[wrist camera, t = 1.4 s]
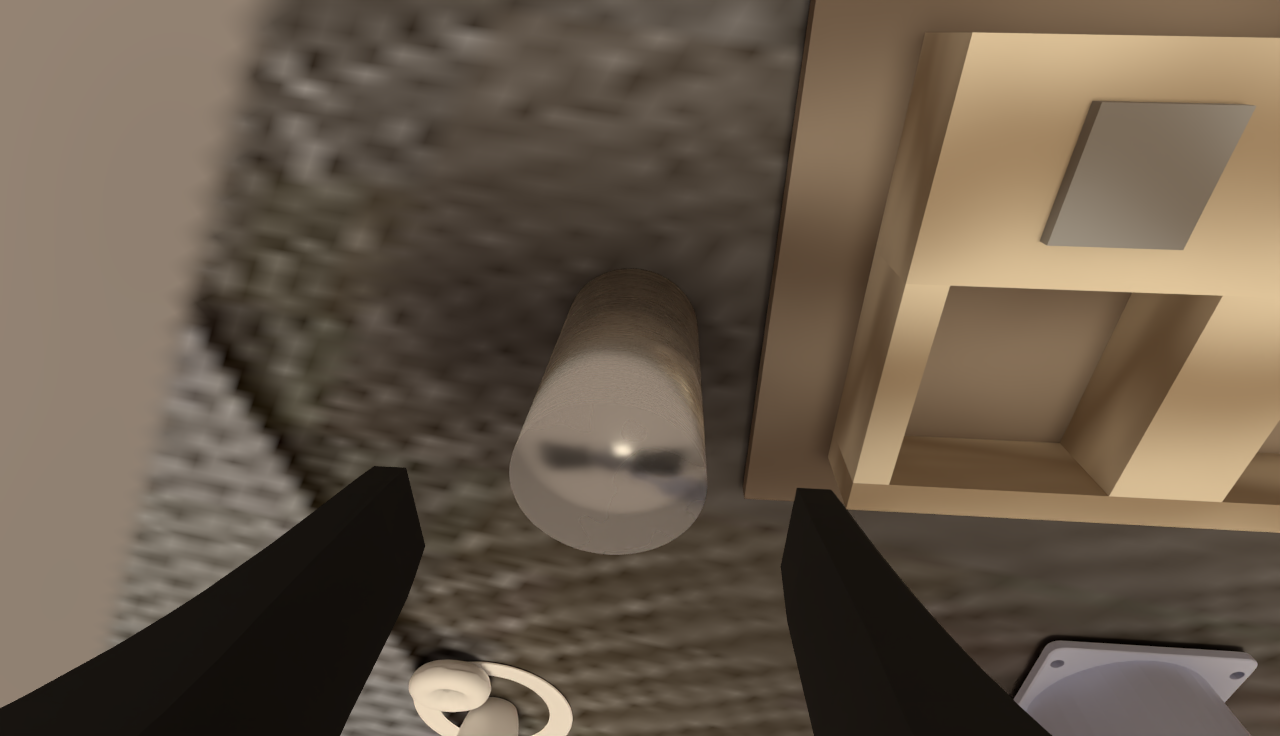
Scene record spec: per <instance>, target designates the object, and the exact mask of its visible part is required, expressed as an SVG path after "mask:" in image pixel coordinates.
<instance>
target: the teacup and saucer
mask: <svg viewBox="0 0 1280 736" xmlns="http://www.w3.org/2000/svg"><path fill="white" fill-rule="evenodd" d="M488 675H489V676H497V677H502V678H506V679H510V680H513V681H516V682H518V683H521V684H523V685H525V686H527V687H528V688H530V689H532V690H533V691H535V692H536V693H537V694H538V695H540V696H541V697H542V699H543V700H544V701H545V702H546V704H547V706H548V708H549V711H550V718H549V722H548V724H547V725H546V727H545V728H544V729H543V730H541V731H540V732H538V733H537V734H535V735H532V736H566V735H567V734H568V732H569V730H570V728H571V726H572V721H573V715H572V710H571V707H570V705H569V703H568V702H567V700H566V699H565V697H564V696H563V695H562V694H561V693H560V692H559V691H558V690H557V689H556V688H555V687H554V686H552V685H551V684H550V683H548V682H547V681H545V680H543V679H542V678H540V677H538V676H536V675H534V674H532V673H529V672H527V671H524V670H522V669H519V668H515V667H512V666H508V665H503V664H498V663H491V662H465V661H460V660H451V659H444V660H436V661H431V662H428V663H426V664H424V665H422V666H421V667H419V668H418V669H417V670H416V671H415V673H414V674H413V676H412V677H411V679H410V682H409V692H410V694H411V696H412V697H413V699H414V705H415V708H416V710H417V712H418V714H419V715H420V717H421V718H422V719H423V721H424V722H425V723H426V724H427V725H428V726H429V727H431V728H432V729H433V730H434V731H436V732H437V733H439V734H440V735H442V736H518V729H519V721H518V713H517V709H516V707H515V706H514V705H513V704H512V703H510V702H509V701H507V700H505V699H502V698H497V697H489V695H490V692H491V684H490V679H489V677H488ZM468 710H470V711H469V712H468V714H467V716H466V717H465V719H464V721H463V723H462V725H461V727H460V728H459V727H457V726H455V725H454V724H452V723H451V722H450V721H449V720H448V719H446V718H445V716H444V715H443V714H442V713H441V711H445V712H460V711H468Z"/></svg>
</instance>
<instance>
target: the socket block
mask: <svg viewBox="0 0 1280 736" xmlns="http://www.w3.org/2000/svg"><path fill="white" fill-rule="evenodd" d="M797 488H812V489H831V490H832V491H833V492H834V493H835V494H836V496H837V497H838V498H839V500H840V501H841V502H842V504H844V505H845V507H846V509H852V510H870V511H889V512H907V513H926V514H944V515H963V516H981V517H1000V518H1018V519H1037V520H1055V521H1074V522H1092V523H1111V524H1129V525H1148V526H1166V527H1185V528H1203V529H1222V530H1240V531H1259V532H1277V533H1280V0H811V1H810V9H809V16H808V23H807V30H806V37H805V44H804V52H803V59H802V66H801V73H800V80H799V88H798V95H797V102H796V109H795V116H794V123H793V131H792V138H791V145H790V152H789V159H788V166H787V174H786V181H785V188H784V195H783V202H782V209H781V217H780V224H779V231H778V238H777V245H776V252H775V260H774V267H773V274H772V281H771V288H770V295H769V303H768V310H767V317H766V324H765V331H764V338H763V346H762V353H761V360H760V367H759V374H758V382H757V389H756V396H755V403H754V410H753V417H752V425H751V432H750V439H749V446H748V453H747V460H746V468H745V475H744V482H743V492H744V499H762V500H781V501H794V499H795V494H796V489H797Z"/></svg>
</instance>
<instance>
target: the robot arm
mask: <svg viewBox="0 0 1280 736" xmlns="http://www.w3.org/2000/svg"><path fill="white" fill-rule="evenodd" d="M424 548H425V543H424V539H423V535H422V531H421V527H420V523H419V519H418V515H417V511H416V507H415V502H414V498H413V494H412V490H411V486H410V482H409V478H408V474H407V470H406V468H399V467H379V466H374V467H372V468H371V469H370V470H368V471H367V472H365V473H364V474H363V475H361V476H360V477H358V478H357V479H356V480H354V481H353V482H352V483H351V484H349V485H348V486H347V487H345V488H344V489H343V490H341V491H340V492H339V493H337V494H336V495H335V496H334V497H332V498H331V499H330V500H328V501H327V502H326V503H324V504H323V505H322V506H321V507H319V508H318V509H317V510H315V511H314V512H313V513H311V514H310V515H309V516H307V517H306V518H305V519H303V520H302V521H301V522H300V523H298V524H297V525H296V526H294V527H293V528H292V529H290V530H289V531H288V532H286V533H285V534H284V535H282V536H281V537H280V538H278V539H277V540H276V541H274V542H273V543H272V544H270V545H269V546H268V547H266V548H265V549H263V550H262V551H260V552H259V553H258V554H256V555H255V556H253V557H252V558H250V559H249V560H248V561H246V562H245V563H243V564H242V565H240V566H239V567H238V568H236V569H235V570H233V571H232V572H230V573H229V574H228V575H226V576H225V577H223V578H222V579H220V580H219V581H218V582H216V583H215V584H213V585H212V586H210V587H209V588H208V589H206V590H205V591H203V592H202V593H200V594H199V595H197V596H196V597H194V598H193V599H191V600H190V601H188V602H186V603H185V604H183V605H182V606H180V607H179V608H177V609H175V610H174V611H172V612H171V613H169V614H168V615H166V616H164V617H163V618H161V619H159V620H158V621H156V622H154V623H153V624H151V625H150V626H148V627H146V628H145V629H143V630H141V631H140V632H138V633H136V634H135V635H133V636H131V637H130V638H128V639H126V640H125V641H123V642H121V643H120V644H118V645H116V646H115V647H113V648H111V649H109V650H107V651H106V652H104V653H102V654H100V655H98V656H97V657H95V658H93V659H91V660H89V661H87V662H86V663H84V664H82V665H80V666H78V667H77V668H75V669H73V670H71V671H69V672H67V673H66V674H64V675H62V676H60V677H58V678H57V679H55V680H53V681H51V682H49V683H47V684H46V685H44V686H42V687H40V688H38V689H36V690H35V691H33V692H31V693H29V694H27V695H25V696H23V697H22V698H20V699H18V700H16V701H14V702H12V703H10V704H8V705H6V706H4V707H2V708H0V736H340V735H341V732H342V730H343V728H344V726H345V724H346V721H347V719H348V717H349V715H350V713H351V711H352V709H353V707H354V705H355V703H356V701H357V699H358V697H359V695H360V693H361V691H362V689H363V687H364V685H365V683H366V681H367V679H368V677H369V675H370V673H371V671H372V669H373V667H374V665H375V663H376V661H377V659H378V657H379V655H380V653H381V651H382V649H383V647H384V645H385V643H386V641H387V639H388V637H389V635H390V633H391V630H392V628H393V626H394V624H395V622H396V620H397V618H398V616H399V614H400V612H401V610H402V608H403V606H404V604H405V601H406V599H407V597H408V594H409V592H410V589H411V586H412V583H413V581H414V578H415V575H416V572H417V569H418V566H419V563H420V560H421V557H422V554H423V551H424ZM781 571H782V580H783V590H784V598H785V606H786V614H787V622H788V626H789V630H790V635H791V639H792V644H793V648H794V652H795V657H796V661H797V665H798V669H799V674H800V678H801V682H802V686H803V691H804V695H805V699H806V703H807V707H808V712H809V716H810V720H811V724H812V729H813V733H814V736H1251V735H1250V733H1249V732H1248V731H1247V730H1246V729H1245V727H1244V726H1243V725H1242V724H1241V722H1240V721H1239V720H1238V719H1237V718H1236V716H1235V715H1234V714H1233V713H1232V711H1231V710H1230V709H1229V708H1228V706H1227V705H1226V704H1225V702H1226V700H1227V699H1228V698H1229V697H1230V696H1231V695H1232V694H1233V693H1234V692H1235V691H1236V690H1237V689H1238V688H1239V686H1240V685H1241V684H1242V683H1243V682H1244V681H1245V680H1246V679H1247V678H1248V677H1249V676H1250V675H1251V673H1252V672H1253V671H1254V670H1255V669H1256V668H1257V665H1258V664H1257V661H1256V660H1255V659H1254V658H1253V657H1252V656H1251V655H1250V654H1248V653H1245V652H1237V651H1221V650H1205V649H1190V648H1174V647H1158V646H1142V645H1126V644H1110V643H1094V642H1078V641H1062V640H1059V641H1053V642H1050V643H1049V644H1047V645H1046V646H1045V648H1044V649H1043V651H1042V653H1041V654H1040V656H1039V658H1038V659H1037V661H1036V663H1035V664H1034V666H1033V668H1032V669H1031V671H1030V673H1029V674H1028V676H1027V678H1026V679H1025V681H1024V683H1023V684H1022V686H1021V688H1020V689H1019V691H1018V693H1017V695H1016V696H1015V698H1014V700H1013V699H1012V698H1011V697H1010V696H1009V695H1008V694H1007V693H1006V692H1005V691H1004V690H1003V689H1002V688H1001V687H1000V686H999V685H998V684H997V683H996V682H995V681H993V680H992V679H991V678H990V677H989V676H988V675H987V674H986V673H985V672H984V671H983V670H982V669H981V668H980V667H979V666H978V665H977V664H976V663H975V662H974V661H973V659H972V658H971V657H970V656H969V655H968V654H967V653H966V652H965V651H964V650H963V649H962V648H961V647H960V646H959V645H958V644H957V643H956V642H955V641H954V639H953V638H952V637H951V636H950V635H949V634H948V633H947V632H946V631H945V629H944V628H943V627H942V626H941V625H940V624H939V623H938V622H937V621H936V620H935V618H934V617H933V616H932V615H931V614H930V613H929V612H928V611H927V609H926V608H925V607H924V606H923V605H922V604H921V602H920V601H919V600H918V599H917V598H916V597H915V596H914V594H913V593H912V592H911V591H910V589H909V588H908V587H907V586H906V585H905V583H904V582H903V581H902V580H901V579H900V577H899V576H898V575H897V574H896V573H895V571H894V570H893V569H892V568H891V567H890V565H889V564H888V563H887V562H886V560H885V559H884V558H883V557H882V555H881V554H880V553H879V551H878V550H877V549H876V548H875V546H874V545H873V544H872V542H871V541H870V540H869V538H868V537H867V536H866V535H865V533H864V532H863V531H862V529H861V528H860V527H859V525H858V524H857V523H856V521H855V520H854V519H853V517H852V516H851V515H850V513H849V512H848V511H847V509H846V508H845V507H844V505H843V504H842V502H841V501H840V500H839V498H838V497H837V496H836V494H835V493H834V492H833V491H832V490H831V489H812V488H797V489H796V494H795V499H794V504H793V509H792V514H791V519H790V524H789V529H788V534H787V539H786V544H785V548H784V553H783V558H782V563H781Z"/></svg>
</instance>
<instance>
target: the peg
mask: <svg viewBox="0 0 1280 736" xmlns="http://www.w3.org/2000/svg"><path fill="white" fill-rule="evenodd" d="M509 477H510V484H511V489H512V492H513V494H514V497H515V500H516V501H517V503H518V505H519V507H520V508H521V510H522V511H523V512H524V514H525V515H526V516H527V518H528V519H529V520H530V521H531V522H532V523H533V524H534V525H535V526H537V527H538V528H539V529H540V530H542V531H543V532H544V533H546V534H547V535H549V536H550V537H552V538H554V539H556V540H557V541H559V542H561V543H563V544H566V545H568V546H571V547H573V548H577V549H580V550H583V551H588V552H593V553H598V554H608V555H623V554H634V553H639V552H644V551H648V550H651V549H655V548H657V547H660V546H662V545H665V544H667V543H668V542H670V541H672V540H674V539H675V538H677V537H678V536H680V535H681V534H682V533H684V532H685V531H686V530H687V529H688V528H689V527H690V526H691V525H692V524H693V522H694V521H695V520H696V518H697V517H698V515H699V513H700V512H701V510H702V507H703V505H704V502H705V499H706V493H707V470H706V454H705V437H704V421H703V405H702V388H701V372H700V356H699V339H698V324H697V318H696V314H695V311H694V308H693V306H692V304H691V302H690V301H689V299H688V298H687V296H686V295H685V294H684V292H683V291H682V290H681V289H680V288H679V287H678V286H677V285H675V284H674V283H673V282H671V281H670V280H669V279H667V278H665V277H663V276H661V275H659V274H656V273H654V272H651V271H647V270H642V269H619V270H614V271H610V272H607V273H605V274H602V275H600V276H598V277H596V278H595V279H593V280H591V281H590V282H589V283H588V284H586V285H585V286H584V287H583V288H582V289H581V291H580V292H579V293H578V294H577V296H576V297H575V299H574V301H573V303H572V305H571V308H570V310H569V313H568V315H567V318H566V320H565V323H564V325H563V328H562V330H561V333H560V335H559V338H558V340H557V343H556V345H555V348H554V350H553V353H552V355H551V358H550V360H549V363H548V365H547V368H546V370H545V373H544V375H543V378H542V380H541V383H540V385H539V388H538V390H537V393H536V395H535V398H534V400H533V403H532V405H531V408H530V410H529V413H528V415H527V418H526V420H525V423H524V425H523V428H522V430H521V433H520V435H519V438H518V440H517V443H516V445H515V448H514V451H513V454H512V457H511V460H510V468H509Z"/></svg>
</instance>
